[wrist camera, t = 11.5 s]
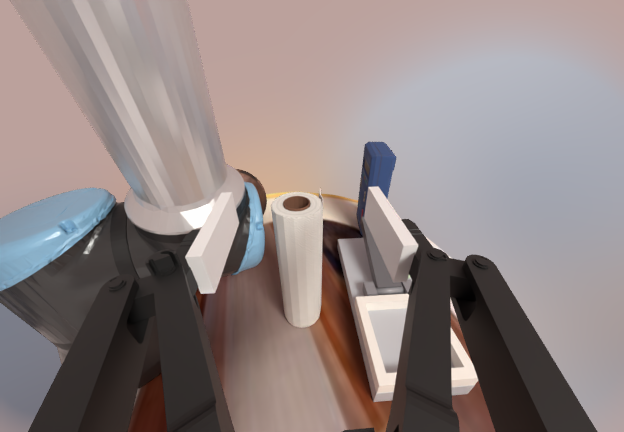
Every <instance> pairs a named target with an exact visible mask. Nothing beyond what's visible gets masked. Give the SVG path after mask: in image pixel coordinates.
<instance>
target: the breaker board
mask: <svg viewBox="0 0 624 432" xmlns="http://www.w3.org/2000/svg"><path fill="white" fill-rule="evenodd" d="M337 248H338V252H339V257H340V261H341V265H342V269H343V274H344V278H345V282H346V287H347V291H348V295H349V299H350V304H351V308H352V312H353V316H354V321H355V325H356V329H357V334H358V338H359V342H360V346H361V351H362V355H363V359H364V363H365V368H366V372H367V376H368V381H369V385H370V389H371V393H372V398H373V402H377V401H389V400H392V399H393V393H394V387H395V380H396V374H397V368H398V362H399V355H400V349H401V343H402V337H403V330H404V324H405V318H406V311H407V305H408V299H409V294H408V292H409V289H410V286H411V283H412V279H411V277H410V275H409V276H408V279H407V282H401V284H402V286H403V288H404V293H403V294H388V295H377V294H378V293H377V291H376V288H375V285H374V282H373V280H372V275H371V271H370V266H369V262H368V257H367V253H366V248H365V243H364V239H363V238H353V239H338V247H337ZM451 379H452V395H460V394H468V393H469V391H470V390H471V389H472V388H473V387H474V386H475V384H476V383H477V381H478V378H477V375H476V372H475V369H474V366H473V364H472V362H471V360H470V359H469V357H468V355H467V354H466V352H465V350H464V349H463V347H462V345H461V343H460V342H459V340H458V338H457V337H456V335H455V333H454V332H453V330H452V328H451Z"/></svg>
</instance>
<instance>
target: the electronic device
mask: <svg viewBox="0 0 624 432" xmlns="http://www.w3.org/2000/svg"><path fill="white" fill-rule="evenodd" d="M395 162H396V156H395V155H394V154H393V152H392V150H390V148H389V147H388V146H387V144H385V143H384V142H368V143H367V144H365V148H364V157H363V165H362V174H361V182H360V192H359V200H358V208H357V218H358V223H359V228H360V232H361V235H363V234H362V230H361V225H360V220H361V217H364V215H365V208H366V200H367V193H368V187H379V188H380V189H381V191H382V192H383V194H384V195H385V197H386V198H387V197H388V192H389V187H390V182H391V177H392V172H393V170H394V167H395Z"/></svg>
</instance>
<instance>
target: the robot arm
mask: <svg viewBox="0 0 624 432" xmlns="http://www.w3.org/2000/svg"><path fill="white" fill-rule="evenodd" d="M10 2H11V3H12V4H13V6H14V8H15V9H16V11H17V12H18V14H19V15H20V17H21V18H22V20H23V22H24V23H25V25H26V26H27V28H28V29H29V31H30V32H31V34H32V35H33V37H34V39H35V40H36V42H37V43H38V45H39V46H40V48H41V49H42V51H43V52H44V54H45V55H46V57H47V59H48V60H49V62H50V63H51V65H52V66H53V68H54V69H55V71H56V72H57V74H58V75H59V77H60V79H61V80H62V82H63V83H64V85H65V86H66V88H67V89H68V91H69V92H70V94H71V95H72V97H73V99H74V100H75V102H76V103H77V105H78V106H79V108H80V109H81V111H82V113H83V114H84V116H85V117H86V119H87V120H88V122H89V123H90V125H91V126H92V128H93V129H94V131H95V132H96V134H97V136H98V137H99V138H100V140H101V142H102V143H103V145H104V146H105V148H106V149H107V151H108V152H109V154H110V156H111V157H112V159H113V160H114V162H115V163H116V165H117V166H118V168H119V170H120V171H121V173H122V174H123V176H124V177H125V179H126V180H127V182H128V183H129V185H130V186H131V188H130V190H129V191H128V193H127V195H126V198H125V202H121V203H117V202H116V198H115V197H114V196H113V195H112V194H110V193H109V192H108V191H107V190H105V189H101V188H99V189H97V188H85V189H79V190H74V191H69V192H65V193H62V194H58V195H55V196H52V197H49V198H46V199H43V200H40V201H38V202H35V203H32V204H30V205H28V206H25V207H23V208H21V209H18V210H16V211H14V212H12V213H10V214H8V215H6V216H4V217H2V218H0V303H2V304H3V305H4V306H5V307H7V308H8V309H9V310H11V311H12V312H13V313H14V314H16V315H17V316H18V317H20V318H21V319H22V320H24V321H25V322H26V323H27V324H29V325H30V326H31V327H33V328H34V329H35V330H36V331H38V332H39V333H40V334H42V335H43V336H44V337H46V338H47V339H48V340H49V341H51V342H52V343H53V344H54V345H55V346H56V347H57V348H58V352H59V356H60V360H61V364H62V366H61V367H60V369H59V371H58V373H57V375H56V378H55V379H54V382H53V383H52V385H51V387H50V389H49V391H48V393H47V395H46V397H45V399H44V401H43V403H42V405H41V407H40V409H39V411H38V413H37V415H36V417H35V419H34V421H33V423H32V425H31V427H30V429H29V431H28V432H128V427H129V423H130V419H131V415H132V411H133V406H134V402H135V398H136V394H137V389H138V388H140V387H142V386H143V385H145V384H146V383H148V382H149V381H151V380H152V379H154V378H155V377H156V376H158V375H159V374H160V373H161V372H162V381H163V391H164V402H165V412H166V422H167V432H235V431H234V428H233V424H232V421H231V417H230V414H229V410H228V407H227V403H226V399H225V396H224V392H223V389H222V385H221V382H220V378H219V375H218V371H217V367H216V364H215V360H214V357H213V353H212V350H211V346H210V343H209V339H208V335H207V332H206V328H205V325H204V321H203V318H202V314H201V310H200V307H199V303H198V300H197V297H196V295H195V293H196V291H197V288H199V291H200V293H201V294H208V293H215V292H216V289H217V286H218V283H219V281H220V278H221V277H224V276H228V275H236V274H238V273H240V272H241V271H244V270H247V269H250V268H253V267H255V266H257V265H258V264H259V263H260V262H261V260H262V258H263V255H264V247H265V234H264V227H263V214H262V208H261V203H260V199H259V195H258V192H257V189H256V187H255V186H254V185H253V184H252V183H249V182H244V180H243V178H242V176H241V175H240V173H239V172H238V171H237V170H236V169H235V168H233V167H232V166H230V165H228V164H226V163H225V159H224V155H223V151H222V146H221V142H220V138H219V133H218V129H217V125H216V121H215V116H214V112H213V108H212V104H211V99H210V95H209V91H208V87H207V82H206V78H205V74H204V69H203V65H202V61H201V56H200V52H199V48H198V44H197V39H196V35H195V31H194V27H193V22H192V18H191V14H190V10H189V5H188V1H187V0H10ZM364 218H365V221H366V223H367V225H368V227H369V230H370V232H371V234H372V236H373V238H374V241H375V243H376V245H377V247H378V249H379V252H380V254H381V256H382V258H383V260H384V263H385V265H386V267H387V269H388V271H389V274H390V276H391V278H392V280H393V282H407V279H408V276H409V275H410V277H411V279H412V283H411V286H410V289H409V292H408V294H409V299H408V305H407V311H406V318H405V324H404V330H403V337H402V343H401V349H400V355H399V362H398V368H397V374H396V380H395V387H394V393H393V399H392V405H391V412H390V417H389V421H388V424H387V428H386V432H459V420H458V416H457V414H456V412H455V411H454V410H453V407H452V379H451V316H450V297H451V300H452V303H453V306H454V309H455V312H456V315H457V318H458V321H459V324H460V327H461V330H462V333H463V336H464V339H465V342H466V345H467V348H468V351H469V354H470V357H471V360H472V363H473V366H474V369H475V372H476V375H477V378H478V381H479V384H480V387H481V389H482V392H483V395H484V398H485V401H486V404H487V407H488V410H489V413H490V416H491V419H492V422H493V425H494V428H495V431H496V432H597V430H596V429H595V427H594V425H593V424H592V422H591V421H590V419H589V417H588V416H587V414H586V412H585V411H584V409H583V407H582V406H581V404H580V403H579V401H578V399H577V398H576V396H575V395H574V393H573V391H572V389H571V388H570V386H569V385H568V383H567V381H566V380H565V378H564V377H563V375H562V373H561V371H560V370H559V368H558V367H557V365H556V363H555V362H554V361H553V358H552V357H551V355H550V354H549V352H548V351H547V349H546V347H545V345H544V344H543V342H542V340H541V339H540V337H539V336H538V334H537V332H536V331H535V329H534V327H533V326H532V324H531V323H530V321H529V319H528V318H527V316H526V314H525V313H524V311H523V309H522V308H521V306H520V304H519V303H518V301H517V300H516V298H515V296H514V295H513V293H512V291H511V290H510V288H509V287H508V285H507V283H506V282H505V280H504V278H503V277H502V275H501V273H500V272H499V270H498V269H497V267H496V265H495V264H494V263H493V262H492V261H490V260H489V259H487V258H485V257H483V256H479V255H469V256H467V258H466V260H465V261H461V260H456V259H451V258H449V257H448V255H447V254H446V253H444V252H443V251H441V250H439V249H436V248H433V247H432V245H431V244H430V243H429V241H428V240H427V239H426V237H425V236H424V235H423V234H422V232H421V231H420V230H419V228H418V227H417V226H416V224H415V223H413V222H412V221H410V220H409V219H400V217H399V216H398V214H397V213H396V211H395V210H394V208H393V207H392V206H391V204H390V203H389V201H388V200H387V198H386V197H385V195H384V194H383V192H382V191H381V189H380V188H379V187H368V193H367V200H366V208H365V215H364ZM343 432H375V431H374V428H366V429H355V430H345V431H343Z"/></svg>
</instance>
